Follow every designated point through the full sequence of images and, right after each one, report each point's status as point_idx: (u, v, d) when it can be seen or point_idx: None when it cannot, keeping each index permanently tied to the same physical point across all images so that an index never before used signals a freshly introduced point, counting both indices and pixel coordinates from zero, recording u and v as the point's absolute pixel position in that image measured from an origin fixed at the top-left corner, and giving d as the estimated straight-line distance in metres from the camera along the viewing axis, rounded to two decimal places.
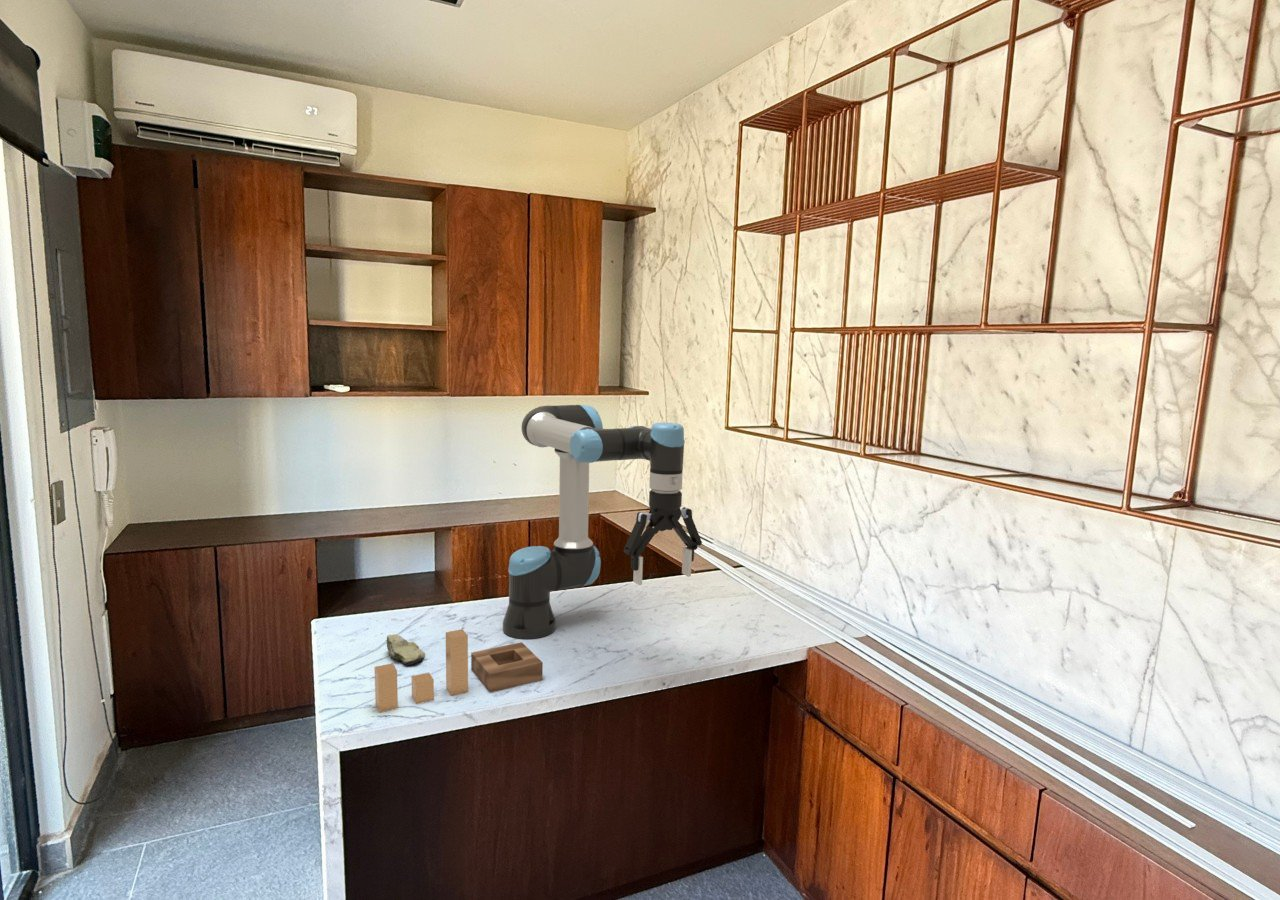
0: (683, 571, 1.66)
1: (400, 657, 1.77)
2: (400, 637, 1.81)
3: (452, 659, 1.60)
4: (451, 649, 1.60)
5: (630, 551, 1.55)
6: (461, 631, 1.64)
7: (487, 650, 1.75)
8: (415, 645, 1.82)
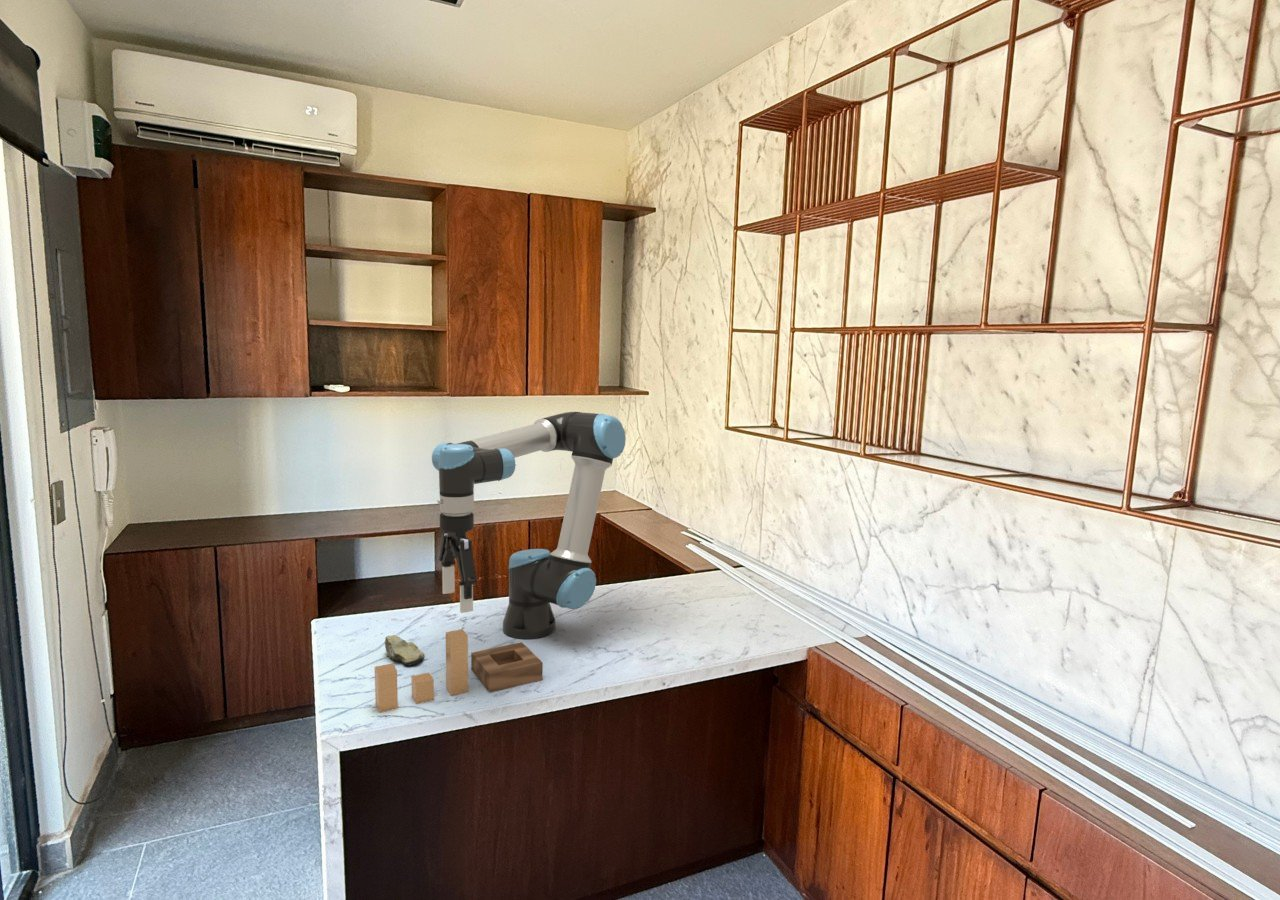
0: None
1: (400, 658, 1.76)
2: (399, 638, 1.81)
3: (452, 659, 1.60)
4: (451, 649, 1.60)
5: (439, 557, 1.67)
6: (461, 631, 1.64)
7: (487, 650, 1.75)
8: (414, 645, 1.82)
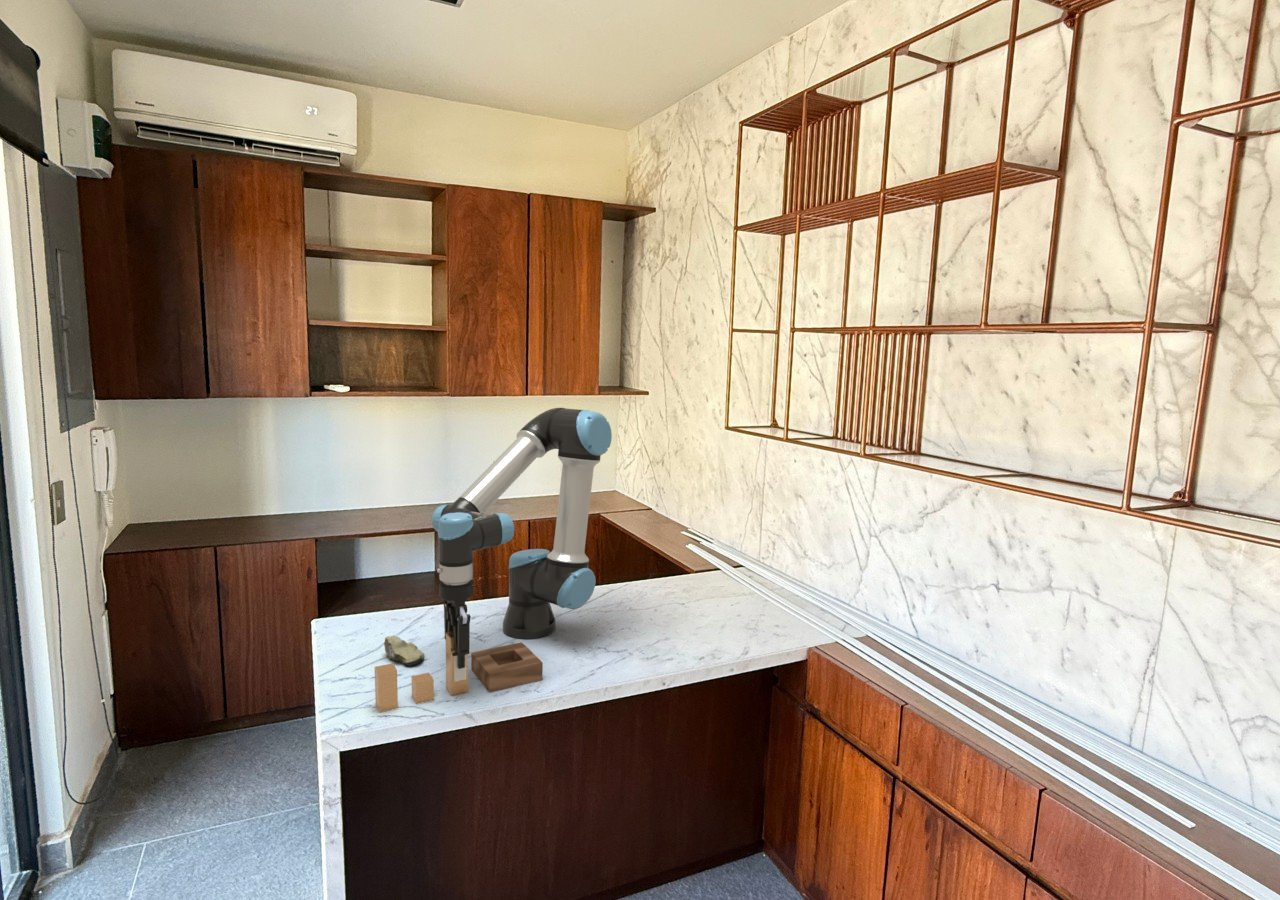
0: None
1: (401, 658, 1.76)
2: (398, 638, 1.80)
3: (452, 659, 1.60)
4: (451, 649, 1.60)
5: None
6: None
7: (487, 650, 1.75)
8: (414, 646, 1.82)
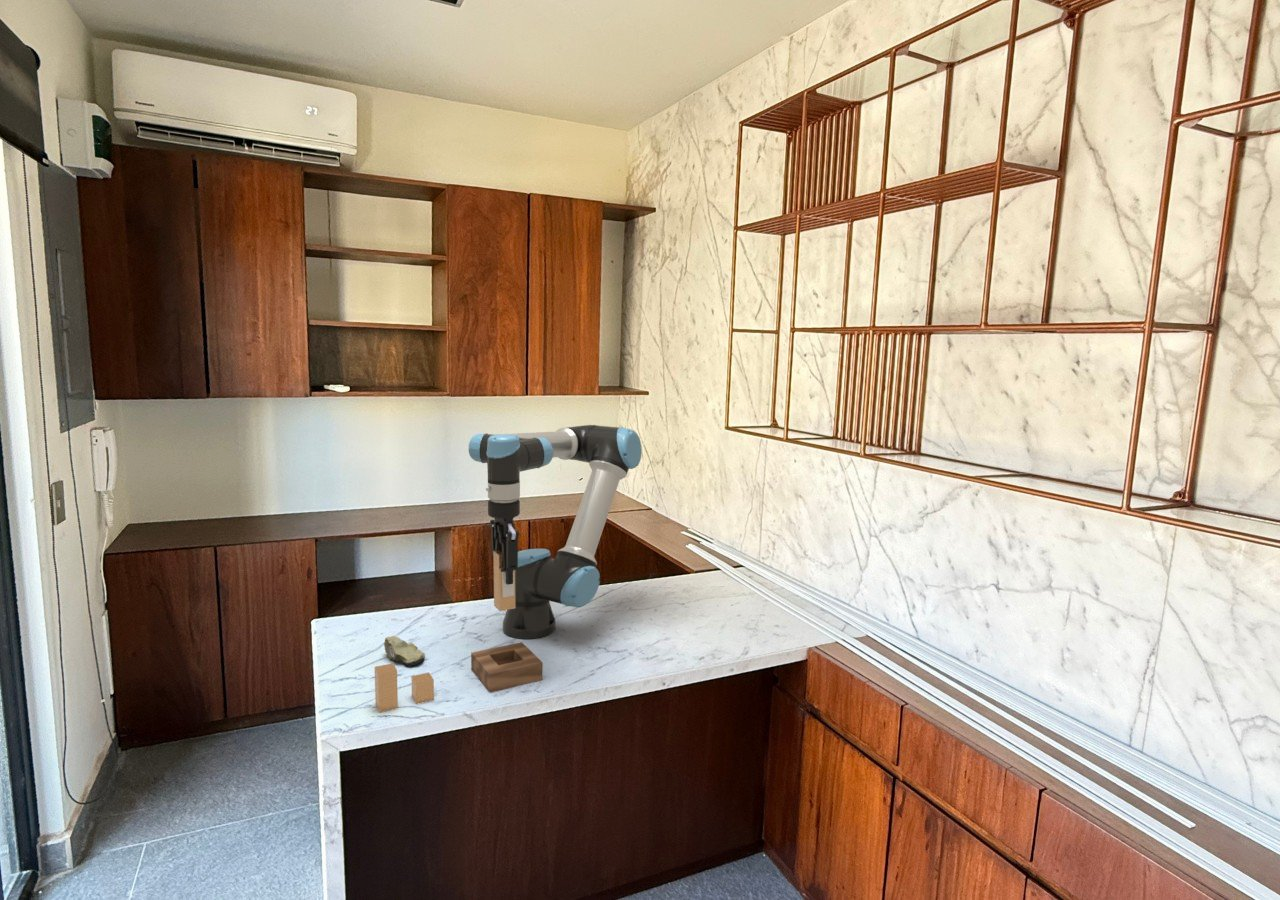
0: None
1: (401, 658, 1.76)
2: (399, 639, 1.80)
3: (500, 575, 1.66)
4: (499, 566, 1.65)
5: (492, 555, 1.72)
6: None
7: (487, 650, 1.75)
8: (414, 646, 1.82)
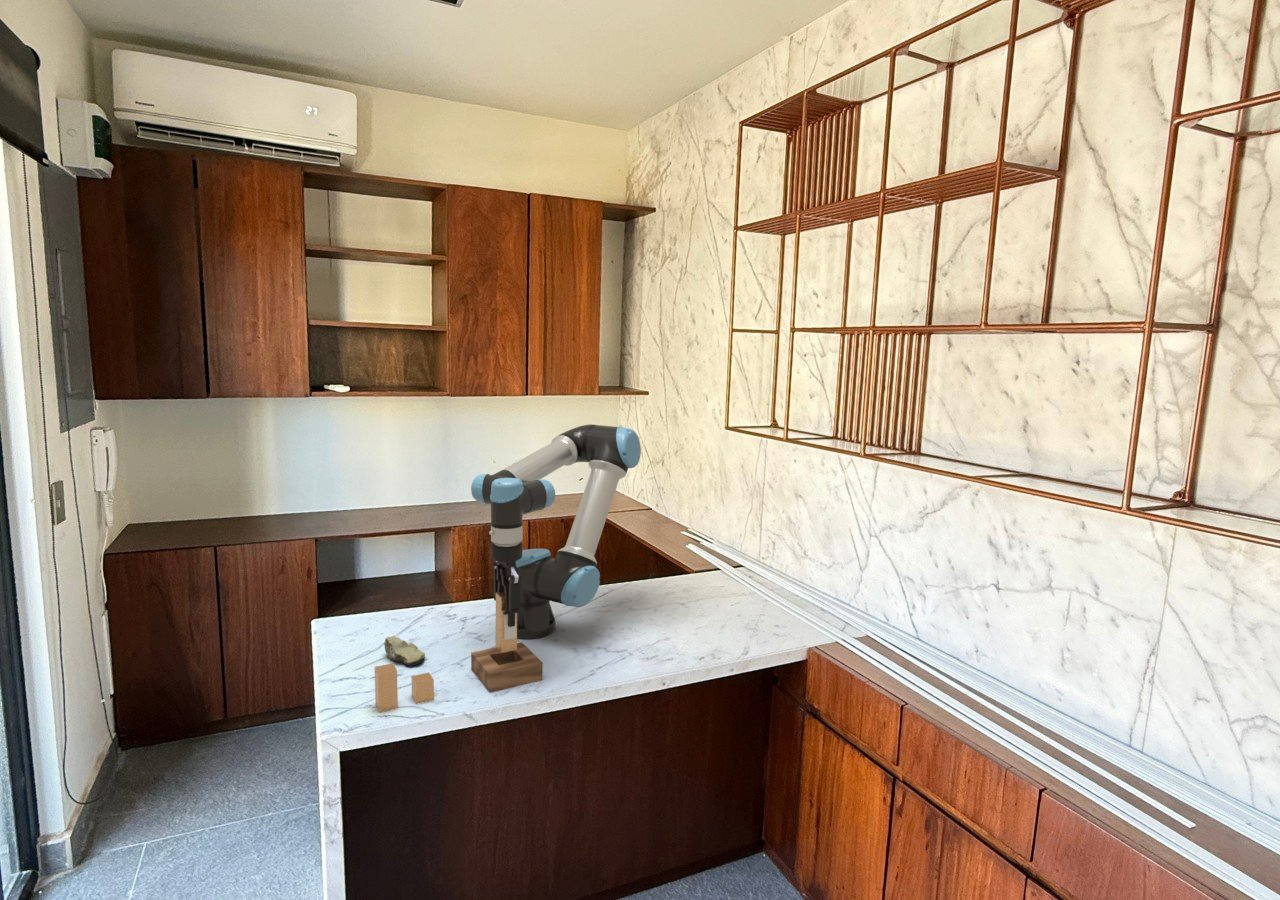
0: None
1: (402, 658, 1.76)
2: (399, 639, 1.80)
3: (502, 618, 1.68)
4: (502, 608, 1.67)
5: (494, 596, 1.74)
6: None
7: (487, 650, 1.75)
8: (414, 646, 1.82)
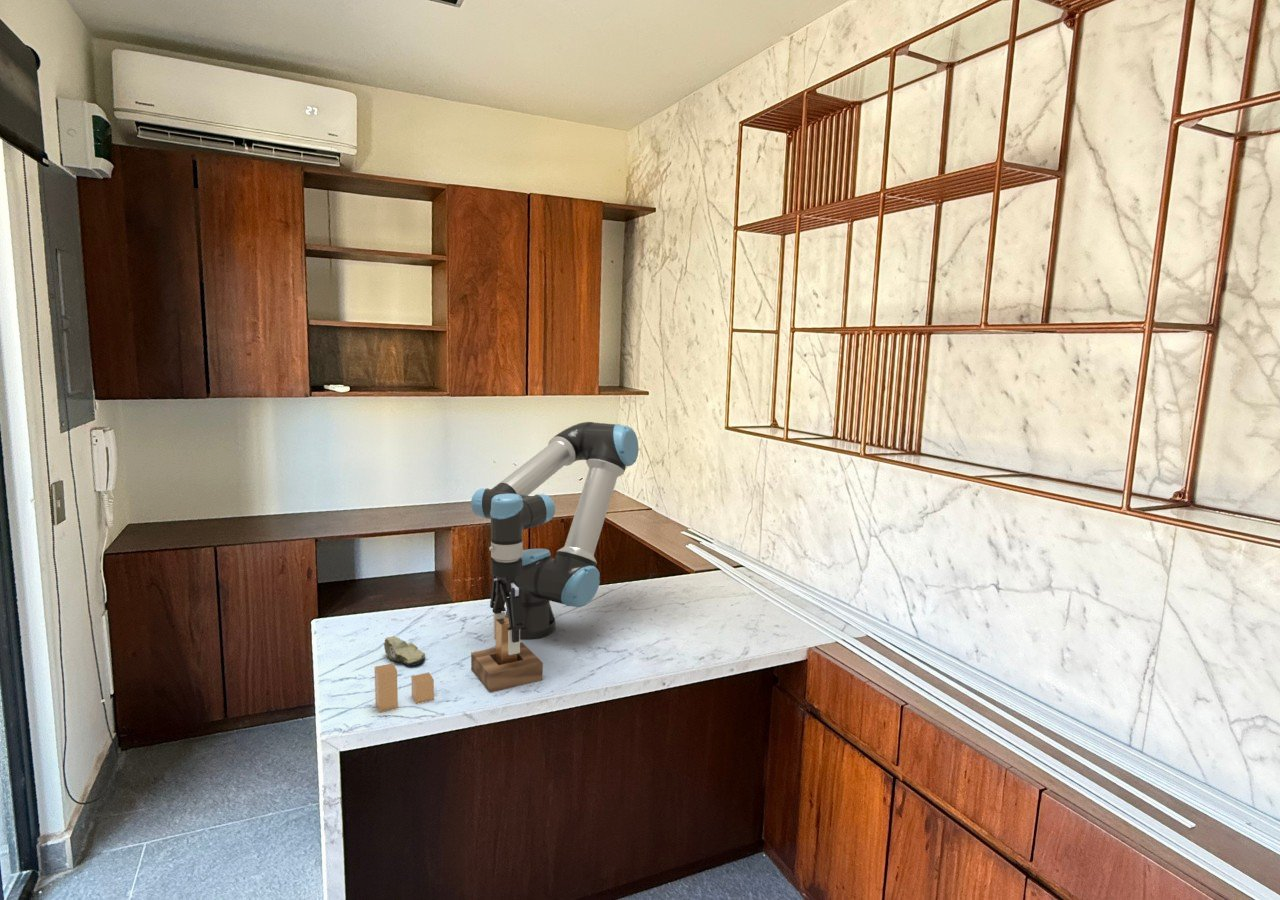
0: None
1: (402, 659, 1.76)
2: (399, 639, 1.80)
3: (503, 645, 1.69)
4: (502, 635, 1.68)
5: (490, 604, 1.76)
6: None
7: (487, 650, 1.75)
8: (414, 646, 1.81)
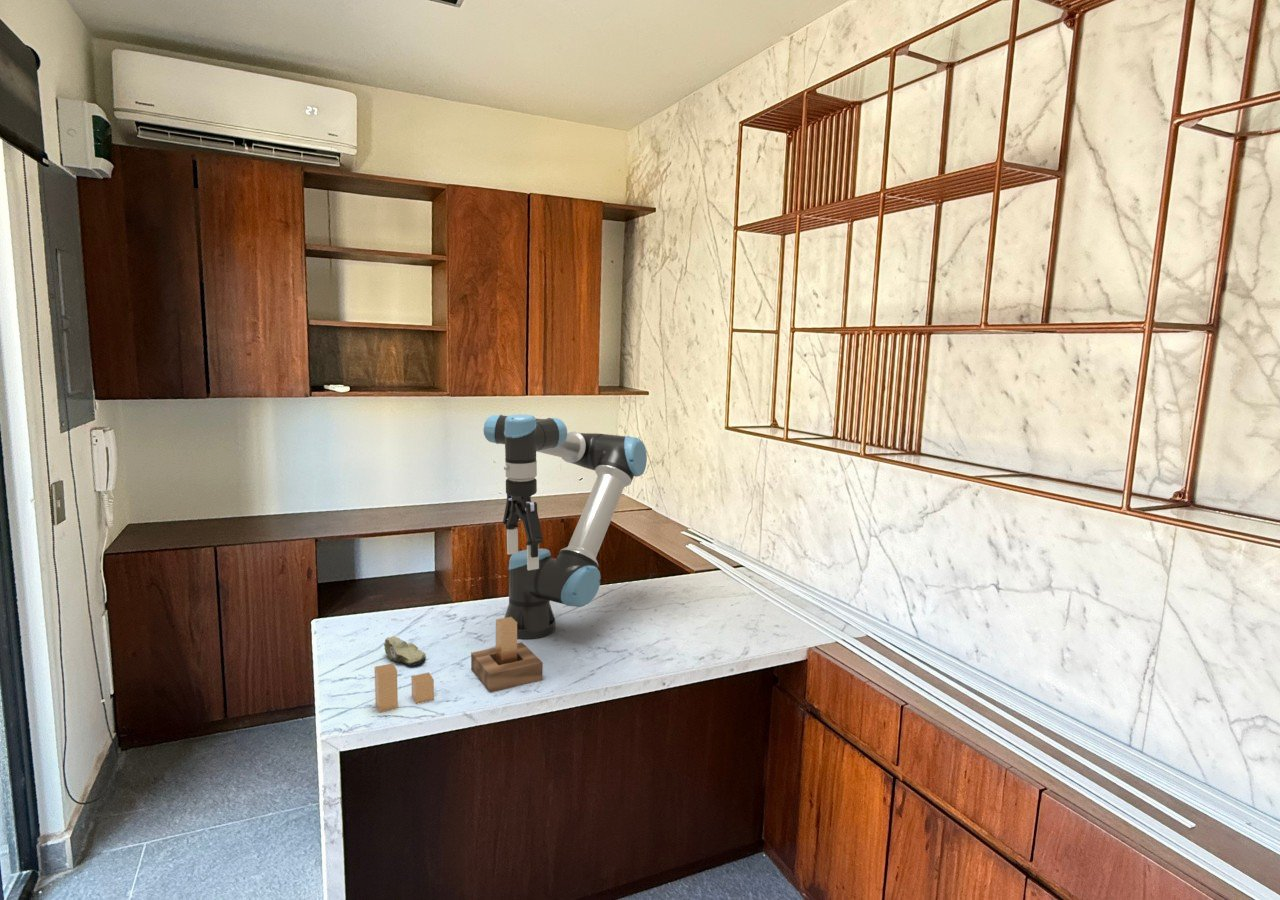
0: None
1: (403, 659, 1.76)
2: (399, 639, 1.80)
3: (503, 645, 1.69)
4: (502, 635, 1.68)
5: (503, 520, 1.80)
6: (511, 618, 1.72)
7: (487, 650, 1.75)
8: (414, 646, 1.81)
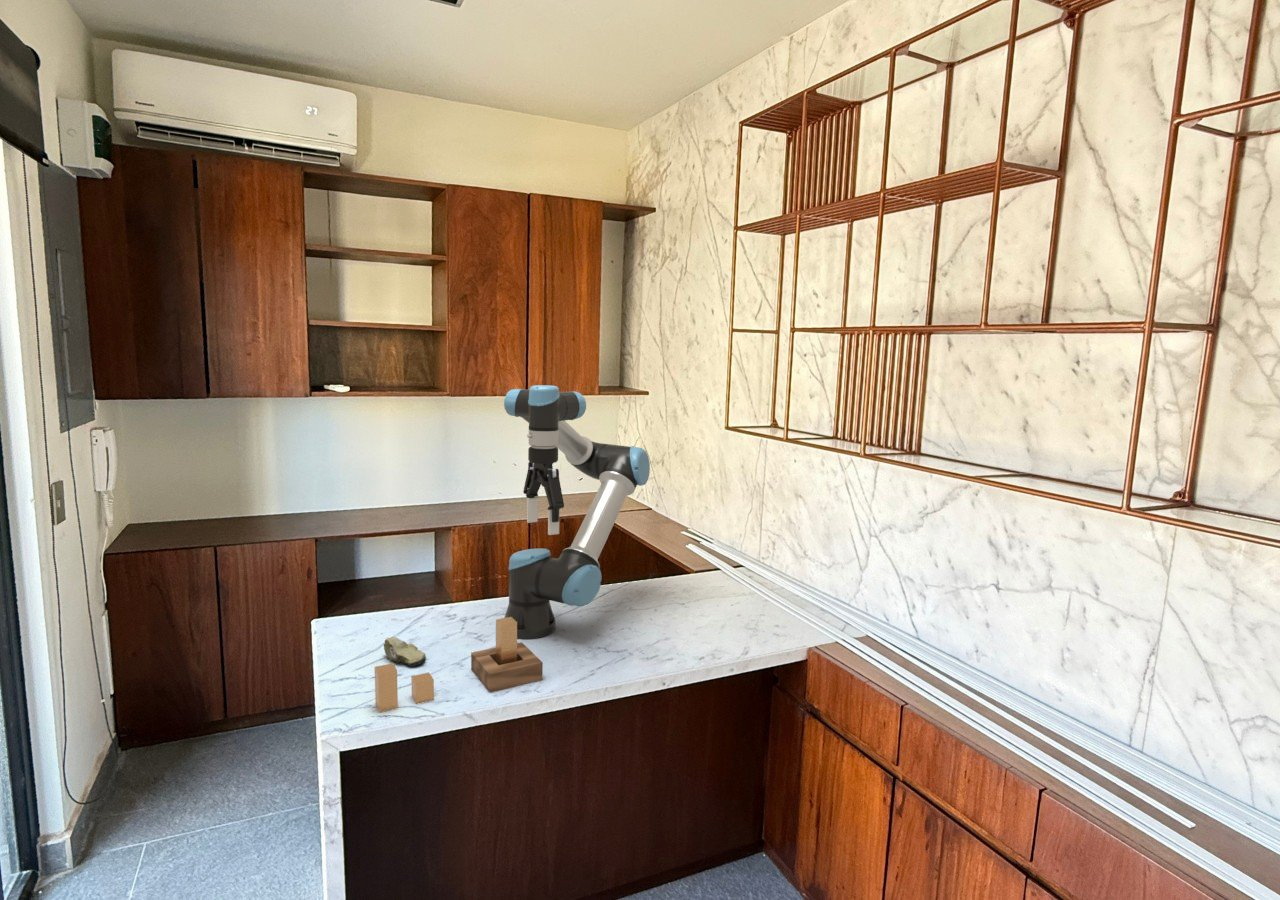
0: None
1: (403, 659, 1.75)
2: (399, 639, 1.80)
3: (503, 645, 1.69)
4: (502, 635, 1.68)
5: (524, 490, 1.85)
6: (510, 618, 1.72)
7: (487, 650, 1.75)
8: (414, 646, 1.81)
